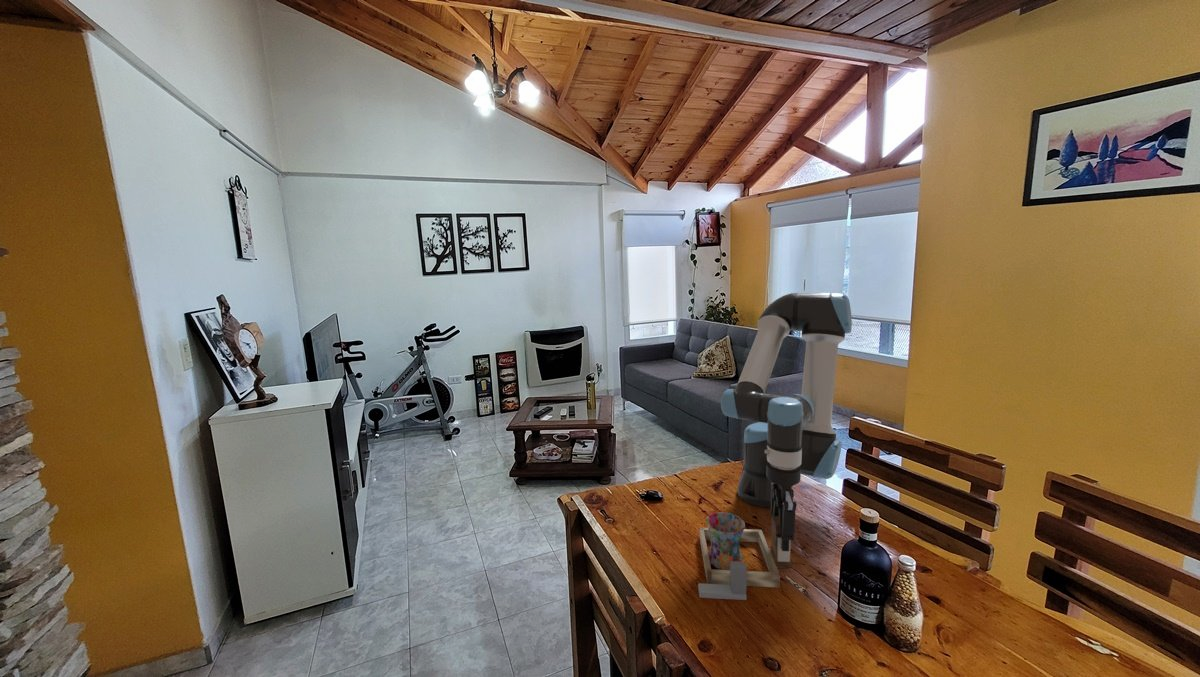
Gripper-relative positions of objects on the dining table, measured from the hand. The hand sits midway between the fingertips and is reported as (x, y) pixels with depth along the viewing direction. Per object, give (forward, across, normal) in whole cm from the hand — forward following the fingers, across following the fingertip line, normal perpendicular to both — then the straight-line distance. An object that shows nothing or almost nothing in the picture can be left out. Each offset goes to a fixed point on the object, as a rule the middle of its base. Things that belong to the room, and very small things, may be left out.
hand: (780, 554), depth 109 cm
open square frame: (+2, 0, -8) cm, 9 cm away
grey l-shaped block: (+2, +12, -16) cm, 20 cm away
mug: (+2, 0, -13) cm, 13 cm away
